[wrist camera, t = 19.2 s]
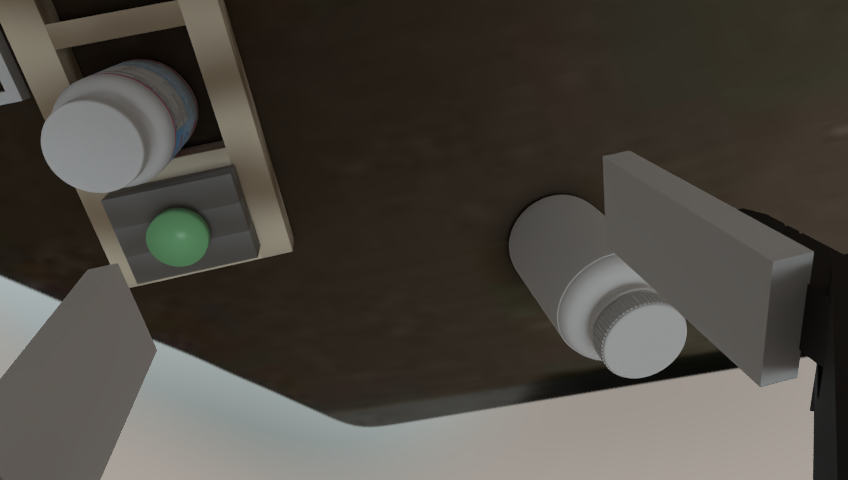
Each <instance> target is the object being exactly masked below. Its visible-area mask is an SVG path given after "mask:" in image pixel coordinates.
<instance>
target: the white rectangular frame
mask: <svg viewBox="0 0 848 480" xmlns="http://www.w3.org/2000/svg"><path fill="white" fill-rule="evenodd" d="M0 81H1V83H2V85H3V88H4V91H0V105H4V104H9V103H14V102H19V101H23V100H26V99H28V98H31V96H30V93H29V91H28V89H27V87H26V85H25V83H24V80H23V78H22V76H21V74H20V72H19V69H18V67H17V65H16V63H15V61H14V59H13V56H12V54H11V52H10V50H9V48H8V45H7V43H6V41H5V39H4V37H3V34H2V32H1V30H0Z"/></svg>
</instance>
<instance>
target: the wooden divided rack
mask: <svg viewBox="0 0 848 480" xmlns="http://www.w3.org/2000/svg"><path fill="white" fill-rule="evenodd" d="M0 23H1V25H2V27H3V29H4V32H5V34H6V36H7V38H8V40H9V43H10V45H11V47H12V49H13V51H14V54H15V56H16V58H17V60H18V62H19V65H20V67H21V69H22V71H23V73H24V76H25V78H26V80H27V82H28V84H29V87H30V89H31V91H32V93H33V95H34V98H35V100H36V102H37V104H38V106H39V109H40V111H41V113H42V115H43V117H44V120H45V121H46V119H47V118H48V117H49V115H50V114H51V113H52V110H53V107H54V104H55V102H56V100H57V99H58V97H59V96H60V94H61V93H62V92H63V91H64V90H65V89H66V88H67V87H68V86H70V85H71V84H73V83H74V82H76V81H78V80H80V79H83V78H84V77H83V74H82V72H81V70H80V67H79V65H78V62H77V60H76V57H75V55H74V53H73V50H72V48H71V47H73V46H79V45H84V44H89V43H94V42H100V41H105V40H110V39H115V38H121V37H126V36H131V35H136V34H142V33H147V32H152V31H157V30H163V29H168V28H173V27H178V26H184V25H186V27H187V30H188V33H189V36H190V39H191V43H192V46H193V49H194V52H195V55H196V58H197V61H198V64H199V67H200V70H201V73H202V76H203V79H204V82H205V85H206V89H207V92H208V95H209V98H210V101H211V104H212V107H213V110H214V113H215V116H216V119H217V122H218V125H219V128H220V131H221V135H222V138H223V140H222V141H217V142H212V143H207V144H202V145H197V146H193V147H188V148H183V149H180V151H179V152H178V153H177V154H176V155H175V156H174V158H173V159H172V160H171V161H170V162H169V163H168V165H167V166H166V167H165V168H164V169H163V170H162V171H161V172H160V173H159V174H158V175H157V176H155V177H154V178H152V179H151V180H149V181H147V182H145V183H143V184H140V185H136V186H132V187H123V188H121V189H119V190H116V191H112V192H107V193H93V192H87V191H83V190H80V189H77V188H76V190H77V192H78V194H79V196H80V199H81V201H82V203H83V205H84V207H85V210H86V212H87V214H88V216H89V218H90V221H91V223H92V225H93V227H94V229H95V232H96V234H97V236H98V238H99V240H100V243H101V245H102V247H103V249H104V251H105V254H106V256H107V258H108V260H109V262H110V265H112V264H117V263H118V264H119V267H120V269H121V271H122V273H123V276H124V278H125V280H126V282H127V285H128V287H129V288H131V287H136V286H140V285H145V284H149V283H154V282H158V281H163V280H167V279H172V278H176V277H180V276H185V275H189V274H194V273H198V272H203V271H207V270H212V269H216V268H221V267H225V266H230V265H234V264H239V263H243V262H247V261H252V260H256V259H261V258H265V257H270V256H274V255H279V254H283V253H288V252H292V251H293V242H294V237H293V233H292V230H291V227H290V223H289V220H288V216H287V213H286V210H285V206H284V203H283V199H282V196H281V193H280V189H279V186H278V182H277V179H276V176H275V172H274V169H273V165H272V162H271V159H270V155H269V152H268V148H267V145H266V142H265V138H264V135H263V131H262V128H261V125H260V121H259V118H258V114H257V111H256V108H255V104H254V101H253V97H252V94H251V91H250V87H249V84H248V80H247V77H246V74H245V70H244V67H243V63H242V60H241V57H240V53H239V50H238V47H237V43H236V40H235V36H234V33H233V30H232V26H231V23H230V19H229V16H228V13H227V9H226V6H225V2H224V0H175V1H169V2H164V3H159V4H153V5H148V6H143V7H137V8H132V9H127V10H121V11H116V12H111V13H105V14H100V15H95V16H89V17H84V18H79V19H73V20H68V21H62V22H61V21H60V19H59V16H58V14H57V11H56V9H55V7H54V4H53V2H52V0H0ZM170 208H185V209H189V210H191V211H194V212H195V213H197V214H198V215H200V216H201V217H202V218H203V219H204V220H205V221H206V223H207V225H208V227H209V230H210V242H209V245H208V248H207V250H206V252H205V254H204V256H203V257H202V258H201V259H200V260H199V261H197V262H196V263H194V264H192V265H189V266H184V267H175V266H170V265H167V264H165V263H162V262H161V261H159V260H158V259H156V258H155V257H154V256H153V255H152V253H151V252H150V251H149V249H148V246H147V243H146V232H147V229H148V227H149V225H150V224H151V223H152V221H153V220H154V218H155V217H156V216H157V215H158V214H159V213H161V212H162V211H164V210H167V209H170Z"/></svg>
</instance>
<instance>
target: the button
mask: <svg viewBox="0 0 848 480" xmlns="http://www.w3.org/2000/svg"><path fill="white" fill-rule="evenodd" d="M209 242H210V230H209V227H208V225H207V223H206V221H205V220H204V219H203V218H202V217H201V216H200V215H198V214H197V213H195V212H194V211H191V210H189V209H185V208H170V209H167V210H164V211H162V212H161V213H159V214H158V215H157V216H156V217H155V218H154V220H153V221H152V223H151V224H150V225H149V227H148V229H147V232H146V243H147V246H148V249H149V251H150V252H151V253H152V255H153V256H154V257H155V258H156V259H158V260H159V261H161V262H162V263H165V264H167V265H170V266H175V267H184V266H189V265H192V264H194V263H196V262H197V261H199V260H200V259H201V258H202V257H203V256H204V254H205V252H206V250H207V248H208V245H209Z"/></svg>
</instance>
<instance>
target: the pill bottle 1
mask: <svg viewBox="0 0 848 480" xmlns="http://www.w3.org/2000/svg"><path fill="white" fill-rule="evenodd" d="M197 121H198V105H197V101H196V98H195V96H194V93H193V91H192V90H191V88H190V86H189V85H188V84H187V82H186V81H185V80H184V79H183V78H182V77H181V76H180V75H179V74H178V73H177V72H176V71H175V70H173V69H172V68H170V67H169V66H167V65H165V64H163V63H160V62H157V61H154V60H149V59H133V60H128V61H125V62H122V63H120V64H117V65H115V66H112V67H109V68H107V69H104V70H102V71H99V72H97V73H95V74H92V75H90V76H87V77H85V78H83V79H80V80H78V81H76V82H74V83H73V84H71V85H70V86H68V87H67V88H66V89H65V90H64V91H63V92H62V93H61V94H60V96H59V97H58V99H57V100H56V102H55V104H54V107H53V110H52V113H51V114H50V115H49V117H48V118H47V119H46V121H45V123H44V126H43V128H42V132H41V148H42V152H43V155H44V157H45V160H46V162H47V163H48V165H49V166H50V168H51V169H52V170H53V172H54V173H55V174H56V175H57V176H58V177H59V178H61V179H62V180H63V181H65V182H66V183H67V184H69V185H71V186H73V187H75V188H77V189H80V190H83V191H87V192H93V193H107V192H112V191H116V190H119V189H121V188H123V187H132V186H136V185H140V184H143V183H145V182H147V181H149V180H151V179H152V178H154V177H155V176H157V175H158V174H159V173H160V172H161V171H162V170H163V169H164V168H165V167H166V166H167V165H168V163H169V162H170V161H171V160H172V159H173V158H174V156H175V155H176V154H177V153H178V152H179V151H180V149H181V148H182V147H183V146H184V144H185V143H186V142H187V141H188V140H189V138H190V137H191V135H192V134H193V132H194V130H195V128H196V125H197Z"/></svg>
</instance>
